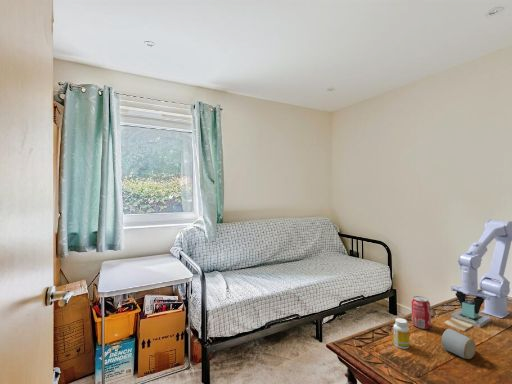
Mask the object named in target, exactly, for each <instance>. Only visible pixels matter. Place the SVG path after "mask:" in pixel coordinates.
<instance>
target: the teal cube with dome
mask: <svg viewBox="0 0 512 384" xmlns="http://www.w3.org/2000/svg"><path fill="white" fill-rule="evenodd" d="M461 309H462V315H463V317H466V318H469V319H472V320H474V319H477V318H476V317H478V316H479V314H480V312H479V313H478V314H476V313H475V303H474V300H470V299H466V300H465V301H464V302H462V308H461Z"/></svg>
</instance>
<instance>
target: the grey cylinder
mask: <svg viewBox="0 0 512 384" xmlns="http://www.w3.org/2000/svg"><path fill="white" fill-rule="evenodd" d="M440 343H441V346H442V349H444V350H446V351H448V352H450V353H452V354H454V355H456V356H458V357H460V358H462V359H466V360H470V359H472V358H473V357H474V356H475V353H476V349H477V346H476V343H475V341H474V339H472V338H470V337H469V336H467V335H464V334H462V333H461V332H458V331H456V330H454V329H451V328H447V329H446V330H445V331H444V332H443V333H442V335H441V342H440Z"/></svg>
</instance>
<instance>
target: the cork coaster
mask: <svg viewBox="0 0 512 384" xmlns="http://www.w3.org/2000/svg"><path fill="white" fill-rule="evenodd" d="M442 324H443V325H446V326H449V327H452V328H454V329H456V330H459V331H461V332H465V331H468V330H469V329H471V328H473V327H474V325H471V324H469V323H466V322H463V321H460V320H457V319H454V318H451V317H450V318H449V319H447V320H445V321H444V322H443V323H442Z"/></svg>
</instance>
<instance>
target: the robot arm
mask: <svg viewBox="0 0 512 384" xmlns="http://www.w3.org/2000/svg"><path fill="white" fill-rule="evenodd" d="M494 239H495V242H496V243H495V246H494V250H493V255H492V259H491V264H490V268H489V271H488V272H487V273H484V274H482V277H481V279H480V280H478V279H479V277H478V269H479V268H480V267H481V264H482V260H483V257H484V256H485V254H486V253H487V252H488V245H490V243H491V242H493V240H494ZM511 245H512V221H507V220H495V219H488V220H486V222H485V224H484V231H483V233H482V234H481V236H480V237H479V239H478V241H475V242H472V244H471V245H470V247H469V248H468V249H467V250H466V252H465V253H462V254H460V255H459V257H458V260H457V263H458V265H459V269H460V270H461V286H455V285H452V286H450V291H451V292H455V296H456V298H457V300H458V301H459V304H460V308H461V309H462V302H464V301H466V300H467V299H466V297H467V295H468V296H471V297H474V298H473V301H474V303H475V313H476V314H478V313H479V314H480V313H482V314H484V315H485V314H486V315H489V316H492V317H496V318H499V319H504V318H505V317H507V316H509V314H511V312H510V311H508V300H507V297H508V296H509V294H510V291H511V289H510V283H511V282H510V281H509V280H508V278H506V276H505V271H506V267H507V263H508V258H509V254H510V249H511ZM478 281H479V282H478ZM478 287H479V288H478ZM478 289H480V290H481V291H479V290H478ZM483 303H484V308H483V309H482V310H481V307H482V305H483Z"/></svg>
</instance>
